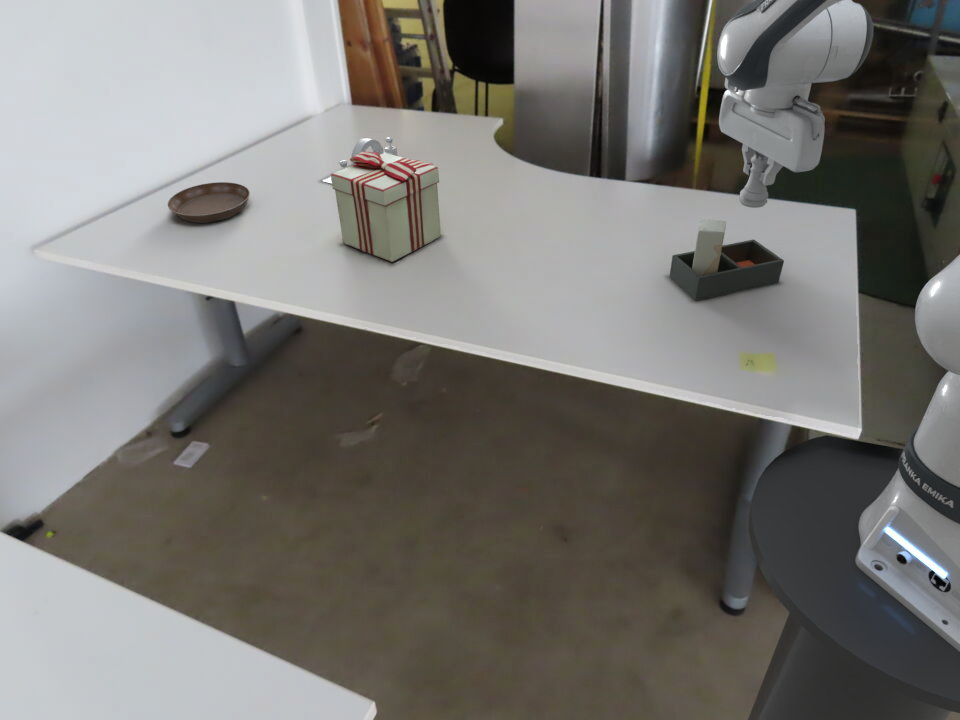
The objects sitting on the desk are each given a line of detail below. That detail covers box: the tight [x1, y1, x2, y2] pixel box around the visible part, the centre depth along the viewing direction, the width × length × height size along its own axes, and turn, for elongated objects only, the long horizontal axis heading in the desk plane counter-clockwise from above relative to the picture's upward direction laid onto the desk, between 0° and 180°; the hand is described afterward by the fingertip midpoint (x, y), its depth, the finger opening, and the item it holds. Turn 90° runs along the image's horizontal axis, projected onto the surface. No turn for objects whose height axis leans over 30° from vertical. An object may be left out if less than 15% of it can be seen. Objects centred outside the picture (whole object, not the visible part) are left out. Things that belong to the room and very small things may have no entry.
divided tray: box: [669, 239, 785, 301], centre depth 124 cm, size 9×17×4 cm, turn 108°
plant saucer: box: [167, 181, 251, 224], centre depth 157 cm, size 18×18×3 cm
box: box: [692, 218, 727, 276], centre depth 121 cm, size 5×4×11 cm
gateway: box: [322, 136, 398, 185], centre depth 171 cm, size 20×2×8 cm, turn 147°
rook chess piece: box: [738, 151, 769, 209], centre depth 110 cm, size 4×4×8 cm
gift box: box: [330, 151, 442, 263], centre depth 139 cm, size 17×18×17 cm
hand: (757, 178), depth 110 cm, fingers closed on rook chess piece, 3 cm apart
